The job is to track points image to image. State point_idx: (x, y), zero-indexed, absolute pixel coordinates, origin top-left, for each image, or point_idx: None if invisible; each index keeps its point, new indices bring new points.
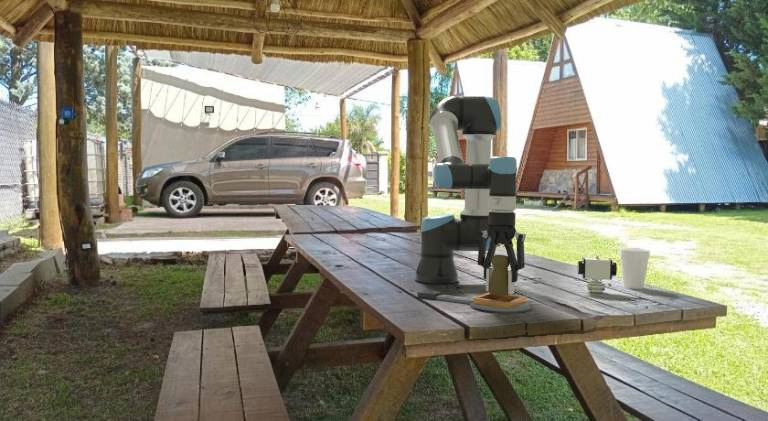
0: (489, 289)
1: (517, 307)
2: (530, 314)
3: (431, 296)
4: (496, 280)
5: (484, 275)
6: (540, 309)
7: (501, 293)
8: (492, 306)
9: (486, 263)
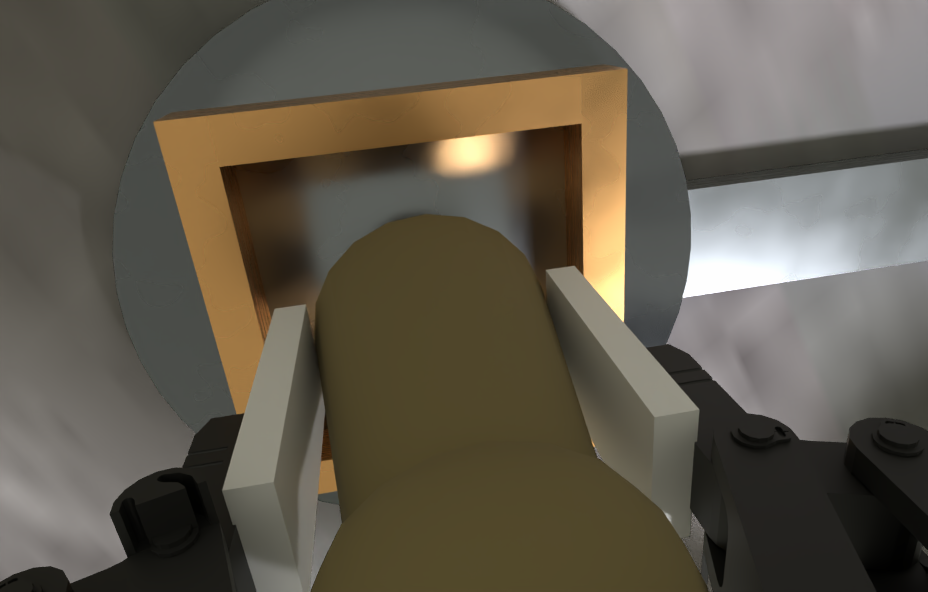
0: (552, 303)
1: (175, 227)
2: (18, 197)
3: None
4: (444, 302)
5: (688, 369)
6: (110, 431)
7: (357, 250)
8: (383, 84)
9: (759, 475)
